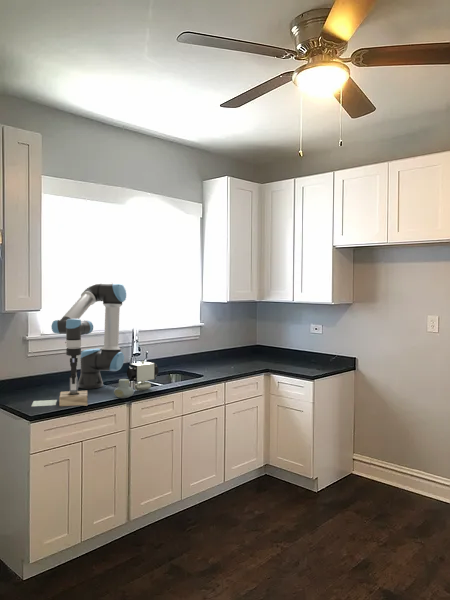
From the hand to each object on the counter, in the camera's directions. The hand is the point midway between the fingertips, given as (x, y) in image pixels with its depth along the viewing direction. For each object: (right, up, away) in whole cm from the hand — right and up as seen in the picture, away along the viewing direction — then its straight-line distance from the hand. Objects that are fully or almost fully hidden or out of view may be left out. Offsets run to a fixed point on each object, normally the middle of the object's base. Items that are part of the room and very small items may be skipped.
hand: (73, 387), depth 268 cm
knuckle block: (0, -9, 0) cm, 9 cm away
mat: (-15, -9, -2) cm, 18 cm away
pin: (0, -9, 0) cm, 9 cm away
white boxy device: (+31, -8, +34) cm, 47 cm away
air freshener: (+24, -9, +15) cm, 29 cm away
